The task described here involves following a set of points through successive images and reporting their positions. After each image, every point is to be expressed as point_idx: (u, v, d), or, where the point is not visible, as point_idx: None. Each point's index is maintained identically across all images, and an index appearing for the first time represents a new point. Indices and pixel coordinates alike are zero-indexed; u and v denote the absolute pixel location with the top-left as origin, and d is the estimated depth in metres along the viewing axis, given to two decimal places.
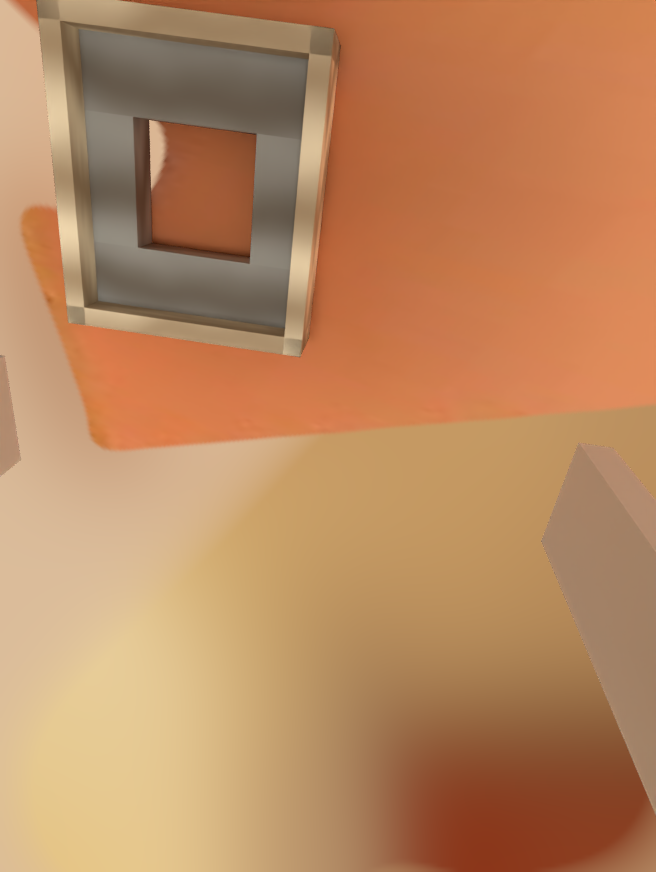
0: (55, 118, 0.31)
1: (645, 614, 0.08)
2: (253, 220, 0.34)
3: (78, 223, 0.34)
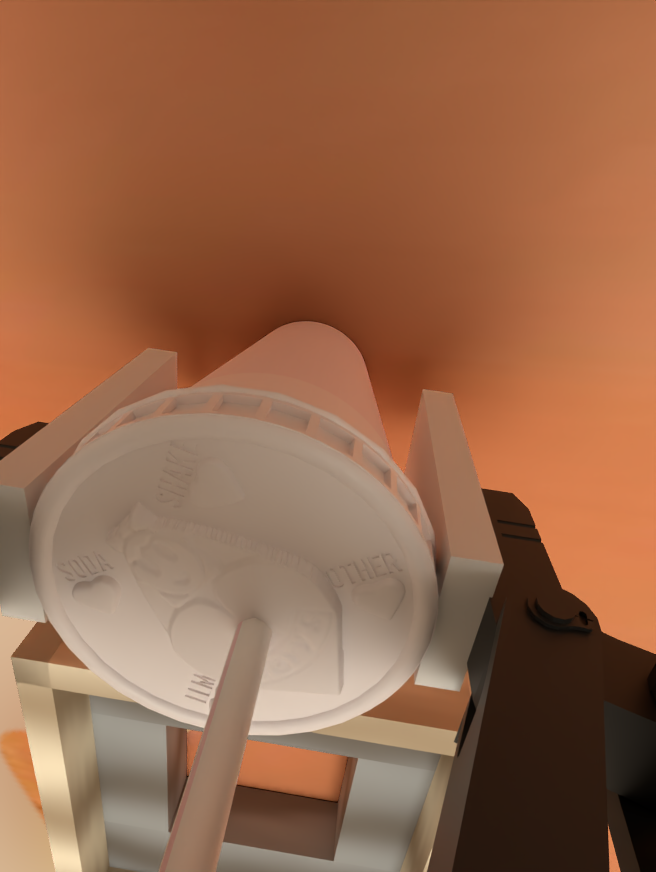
0: (46, 770, 0.20)
1: (427, 513, 0.10)
2: (343, 828, 0.23)
3: (81, 850, 0.22)
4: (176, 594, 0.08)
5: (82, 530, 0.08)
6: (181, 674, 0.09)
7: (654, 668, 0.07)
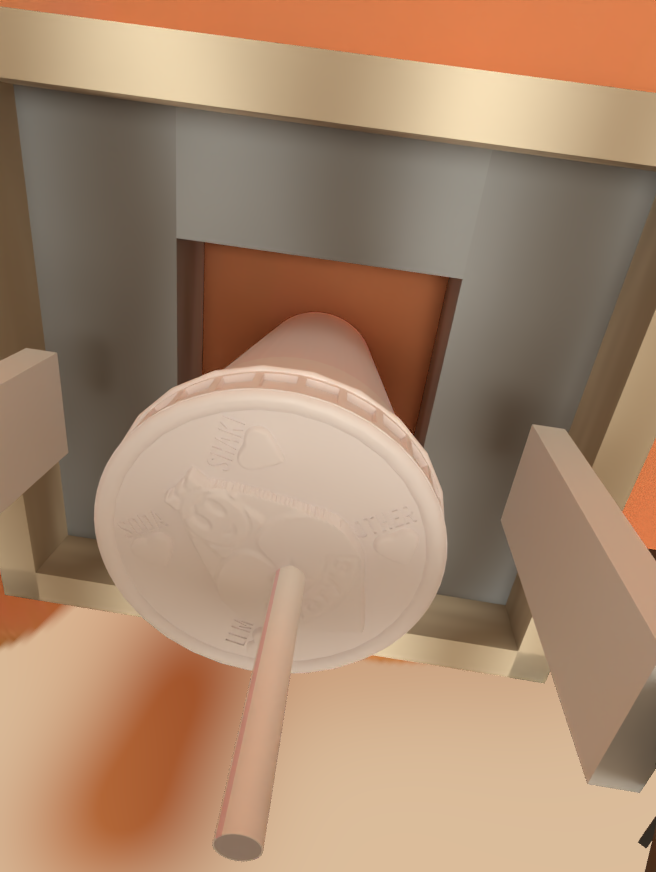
0: None
1: (577, 577, 0.09)
2: (359, 260, 0.14)
3: None
4: (223, 546, 0.09)
5: (142, 492, 0.09)
6: (223, 620, 0.10)
7: None
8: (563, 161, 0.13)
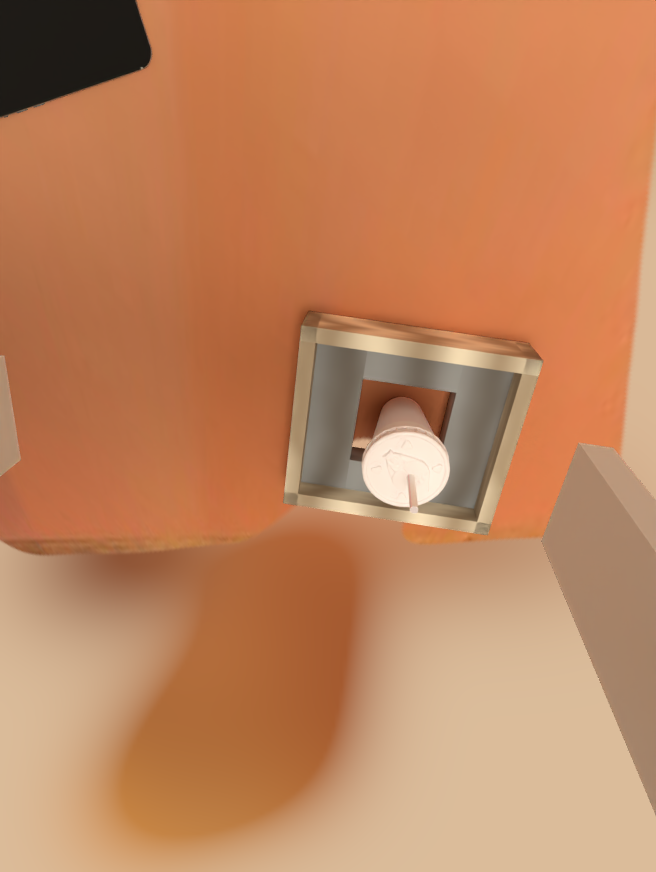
0: (350, 509, 0.47)
1: (645, 614, 0.08)
2: (423, 386, 0.43)
3: None
4: (395, 468, 0.39)
5: (376, 455, 0.39)
6: (390, 490, 0.40)
7: None
8: None
